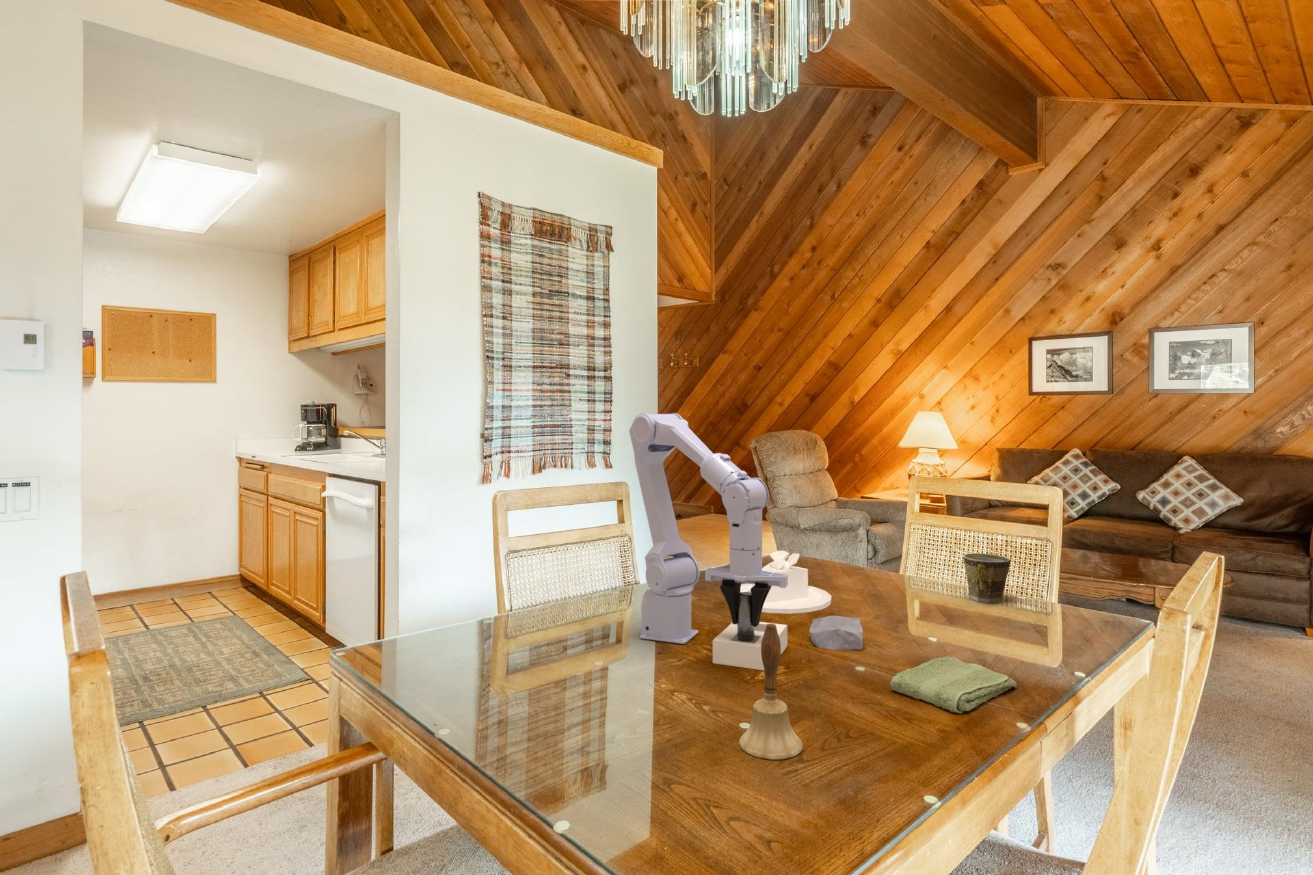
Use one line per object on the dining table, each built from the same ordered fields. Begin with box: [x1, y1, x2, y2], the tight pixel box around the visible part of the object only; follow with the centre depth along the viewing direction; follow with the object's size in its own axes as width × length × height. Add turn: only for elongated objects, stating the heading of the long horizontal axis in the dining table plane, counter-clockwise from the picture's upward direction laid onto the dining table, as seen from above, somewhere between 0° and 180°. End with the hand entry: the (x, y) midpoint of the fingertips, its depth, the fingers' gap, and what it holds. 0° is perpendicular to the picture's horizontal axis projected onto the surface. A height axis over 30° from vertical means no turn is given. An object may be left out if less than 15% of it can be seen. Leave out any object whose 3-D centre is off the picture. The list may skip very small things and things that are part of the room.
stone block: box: [809, 615, 864, 651], centre depth 136 cm, size 12×5×10 cm
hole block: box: [712, 621, 788, 672], centre depth 128 cm, size 10×14×4 cm
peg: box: [737, 592, 754, 642], centre depth 124 cm, size 3×3×8 cm
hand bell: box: [738, 623, 804, 761], centre depth 92 cm, size 8×8×16 cm
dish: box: [740, 550, 832, 614], centre depth 166 cm, size 25×25×11 cm
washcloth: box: [889, 656, 1017, 714], centre depth 111 cm, size 13×18×3 cm
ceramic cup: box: [962, 552, 1011, 604], centre depth 163 cm, size 13×10×10 cm
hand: (745, 623), depth 124 cm, fingers closed on peg, 3 cm apart
